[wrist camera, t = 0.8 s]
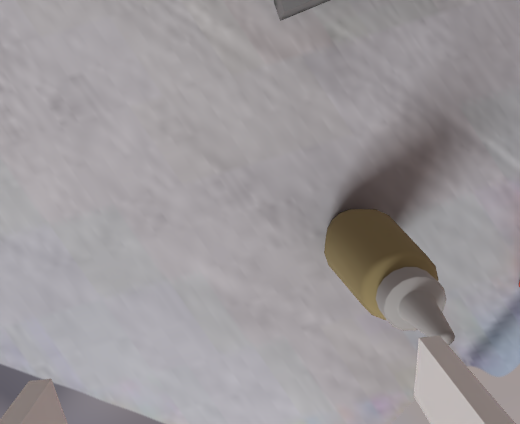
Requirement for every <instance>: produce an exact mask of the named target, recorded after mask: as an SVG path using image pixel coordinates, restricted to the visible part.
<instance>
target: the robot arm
mask: <svg viewBox="0 0 520 424" xmlns="http://www.w3.org/2000/svg"><path fill="white" fill-rule="evenodd" d="M414 397H415V399H416V400H417V402H418V404H419V405H420V407H421V409H422V411H423V412H424V414H425V415H426V417H427V419H428V421H429V422H430V424H516V423H515V422H514V421H513V420H512V419H511V418H510V417H509V415H508V414H507V413H506V412H505V411H504V409H503V408H502V407H501V406H500V405H499V404H498V403H497V401H496V400H495V399H494V398H493V397H492V396H491V394H490V393H489V392H488V391H487V390H486V389H485V388H484V386H483V385H482V384H481V383H480V382H479V381H478V379H477V378H476V377H475V376H474V375H473V374H472V372H471V371H470V370H469V369H468V368H467V367H466V365H465V364H464V363H463V362H462V361H461V360H460V359H459V357H458V356H457V355H456V354H455V353H454V352H453V350H452V349H451V348H450V347H449V346H448V345H447V343H446V342H445V341H444V340H443V339H442V338H441V337H440V336H432V337H423V338H419V344H418V355H417V366H416V378H415V389H414ZM0 424H67V421H66V418H65V415H64V412H63V410H62V407H61V404H60V401H59V399H58V396H57V393H56V391H55V388H54V385H53V382H52V380H51V379H45V380H36V381H29V382H28V383H27V385H26V386H25V387H24V389H23V390H22V391H21V392H20V394H19V395H18V397H17V398H16V399H15V400H14V402H13V403H12V404H11V406H10V407H9V408H8V410H7V411H6V412H5V414H4V415H3V416H2V418H1V419H0Z"/></svg>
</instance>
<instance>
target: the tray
mask: <svg viewBox="0 0 520 424" xmlns="http://www.w3.org/2000/svg"><path fill="white" fill-rule="evenodd" d="M327 1H329V0H274V3H275V6H276V9H277V12H278V16H279V19H280V21H281V20H283V19H285V18H288V17H290V16H293V15H295V14H298V13H300V12H303V11H305V10H307V9H310V8H312V7H315V6H317V5H320V4H322V3H325V2H327Z"/></svg>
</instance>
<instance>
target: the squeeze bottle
mask: <svg viewBox="0 0 520 424" xmlns="http://www.w3.org/2000/svg"><path fill="white" fill-rule="evenodd" d="M324 253H325V256H326V259H327V262H328V265H329V266H330V267H331V269H332V270H333V271H334V272H335V273H336V274H337V276H338V277H339V278H340V279H341V280H342V282H343V283H344V284H345V285H346V286H347V287H348V289H349V290H350V291H351V292H352V293H353V295H354V296H355V297H356V298H357V299H358V300H359V302H360V303H361V304H362V305H363V306H364V307H365V308H366V309H367V310H368V311H369V312H370V313H371V314H372V315H373V316H376V317H379V318H381V319H384V320H387V321H388V322H389V323H390V324H391V325H392V326H393V327H395V328H398V329H400V330H403V331H416V330H419V331H421V332H422V333H423V334H425V335H426V336H427V337H432V336H440V337H441V338H442V339H443V340H444V341H445V342H446V343H447V345H450V344H451V343H452V342H453V341H454V338H455V336H454V333H453V331H452V329H451V328H450V326H449V324H448V322H447V321H446V319H445V317H444V315H443V313H442V311H443V310H444V306H445V301H446V296H445V291H444V288H443V287H442V286H441V285H440V283H439V282H438V276H437V271H436V266H435V265H434V264H433V263H432V261H431V260H430V259H429V258H428V257H427V255H426V254H425V253H424V252H423V251H422V250H421V249H420V248H419V247H418V246H417V245H416V244H415V243H414V242H413V241H412V239H411V238H410V237H409V236H408V235H407V234H406V233H405V232H404V231H403V230H402V229H401V228H400V227H399V226H398V225H397V224H396V222H395V221H394V220H393V219H392V218H391V217H390V216H389V215H387V214H385V213H382V212H380V211H378V210H376V209H350V210H347V211H344V212H341V213H340V214H338V215H337V216H336V217H335V218H334V219H333V220H332V221H331V223H330V225H329V227H328V228H327V234H326V241H325V251H324Z"/></svg>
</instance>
